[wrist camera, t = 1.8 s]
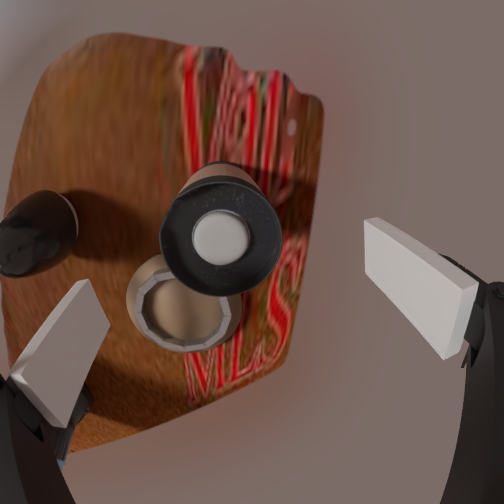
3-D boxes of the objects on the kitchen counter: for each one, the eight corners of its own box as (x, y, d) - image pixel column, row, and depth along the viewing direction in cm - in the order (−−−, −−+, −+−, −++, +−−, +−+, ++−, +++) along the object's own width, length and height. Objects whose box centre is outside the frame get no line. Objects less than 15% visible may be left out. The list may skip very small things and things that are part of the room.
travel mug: (257, 208, 37) (296, 280, 18) (200, 225, 37) (184, 312, 18) (241, 151, 34) (267, 162, 15) (182, 169, 34) (138, 203, 15)
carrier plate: (152, 353, 44) (149, 365, 41) (112, 263, 37) (105, 272, 34) (251, 336, 44) (253, 348, 41) (227, 237, 38) (227, 245, 35)
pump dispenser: (39, 176, 31) (-31, 201, 17) (95, 197, 33) (32, 232, 19) (30, 239, 34) (-29, 282, 20) (81, 262, 36) (30, 319, 22)
